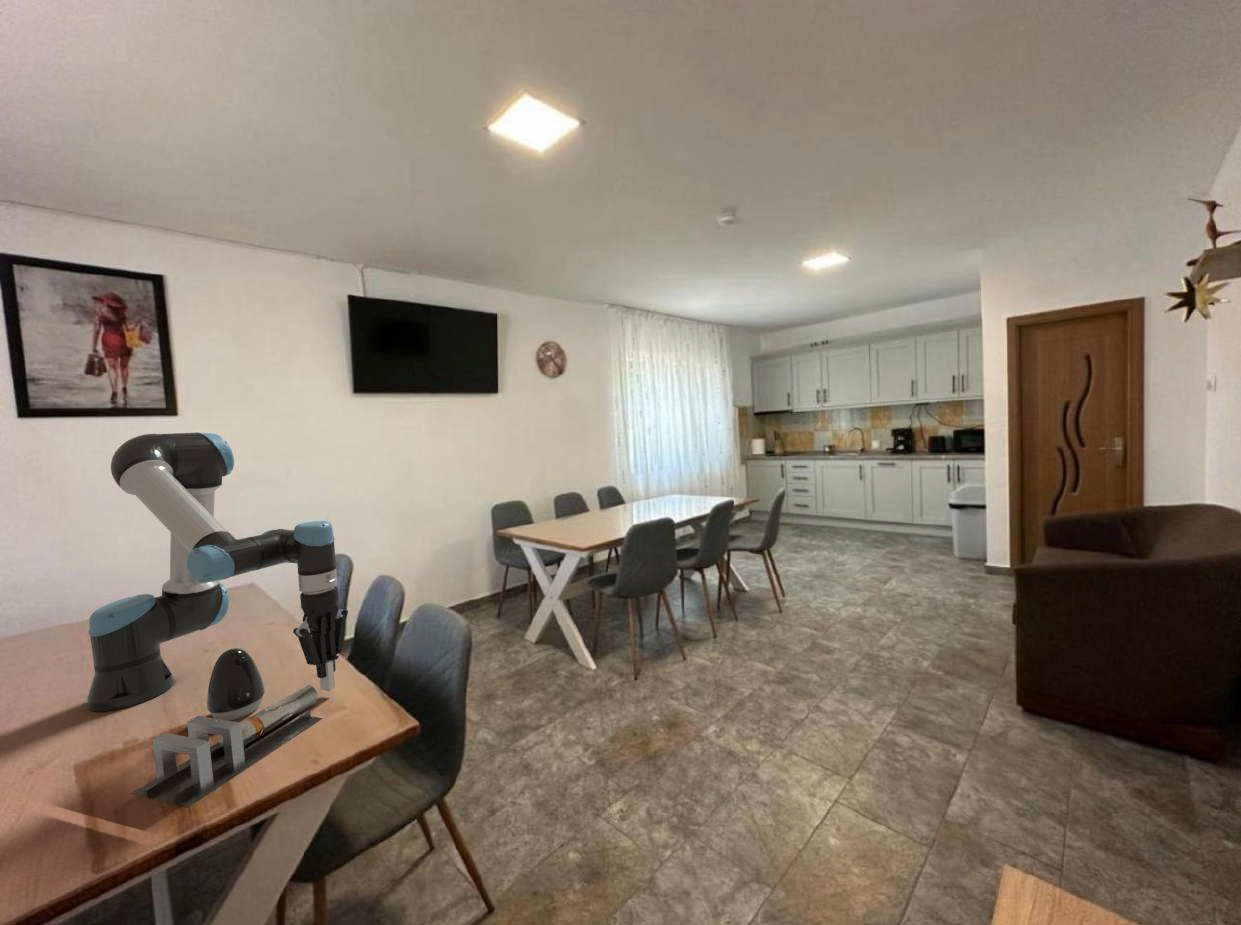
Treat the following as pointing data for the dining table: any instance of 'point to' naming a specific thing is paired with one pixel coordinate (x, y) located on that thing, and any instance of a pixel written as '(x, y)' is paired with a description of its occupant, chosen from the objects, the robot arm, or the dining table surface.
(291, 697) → the tube
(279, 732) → the twin arch cradle
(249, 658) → the black tall rounded dome
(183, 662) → the dining table surface
